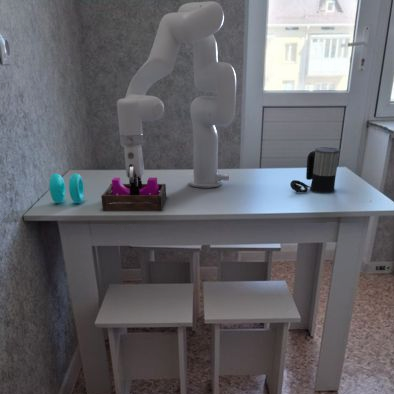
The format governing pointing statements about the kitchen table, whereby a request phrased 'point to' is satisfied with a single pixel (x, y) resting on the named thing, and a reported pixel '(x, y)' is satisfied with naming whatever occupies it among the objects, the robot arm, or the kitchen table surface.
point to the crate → (133, 200)
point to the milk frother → (320, 171)
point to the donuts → (59, 188)
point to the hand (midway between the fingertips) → (136, 194)
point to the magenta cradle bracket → (147, 190)
